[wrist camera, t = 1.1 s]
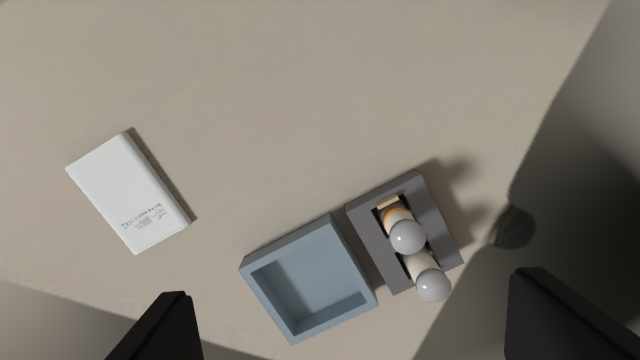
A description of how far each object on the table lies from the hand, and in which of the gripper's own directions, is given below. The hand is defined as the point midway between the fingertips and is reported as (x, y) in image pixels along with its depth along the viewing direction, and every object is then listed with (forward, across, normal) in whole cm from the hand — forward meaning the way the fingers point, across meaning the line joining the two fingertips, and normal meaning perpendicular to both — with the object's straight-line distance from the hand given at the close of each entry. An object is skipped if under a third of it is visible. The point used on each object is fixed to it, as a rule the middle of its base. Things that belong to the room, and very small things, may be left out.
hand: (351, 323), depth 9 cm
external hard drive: (+27, +23, +2) cm, 36 cm away
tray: (+27, +3, +14) cm, 30 cm away
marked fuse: (+26, -7, +6) cm, 28 cm away
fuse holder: (+26, -8, +9) cm, 29 cm away
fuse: (+26, -10, +11) cm, 30 cm away
